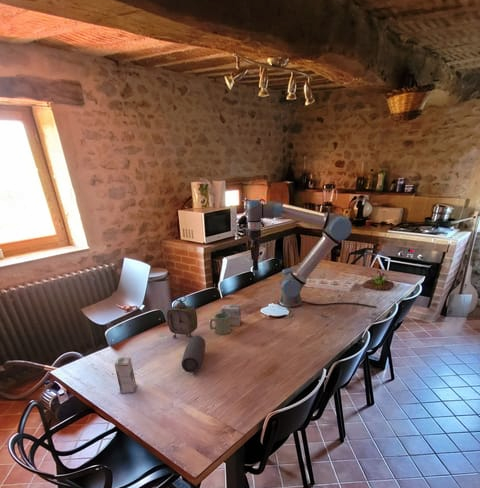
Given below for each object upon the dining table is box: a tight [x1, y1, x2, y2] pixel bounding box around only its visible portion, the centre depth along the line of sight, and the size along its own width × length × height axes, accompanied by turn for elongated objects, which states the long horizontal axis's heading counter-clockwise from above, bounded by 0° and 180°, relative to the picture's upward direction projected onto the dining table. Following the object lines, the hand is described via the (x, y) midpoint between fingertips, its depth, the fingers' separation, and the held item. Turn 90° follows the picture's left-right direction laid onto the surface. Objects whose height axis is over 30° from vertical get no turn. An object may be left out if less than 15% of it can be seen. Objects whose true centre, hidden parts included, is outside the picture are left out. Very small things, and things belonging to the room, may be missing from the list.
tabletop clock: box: [166, 293, 198, 340], centre depth 196 cm, size 14×9×25 cm, turn 70°
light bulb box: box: [220, 304, 242, 327], centre depth 213 cm, size 11×7×11 cm, turn 82°
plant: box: [363, 270, 395, 292], centre depth 260 cm, size 20×20×11 cm
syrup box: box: [114, 356, 137, 394], centre depth 154 cm, size 6×6×14 cm
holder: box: [303, 278, 358, 293], centre depth 272 cm, size 45×18×3 cm, turn 59°
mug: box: [208, 312, 232, 335], centre depth 204 cm, size 12×9×10 cm
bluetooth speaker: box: [181, 335, 206, 374], centre depth 173 cm, size 23×9×10 cm, turn 178°
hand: (255, 270), depth 219 cm, fingers closed
